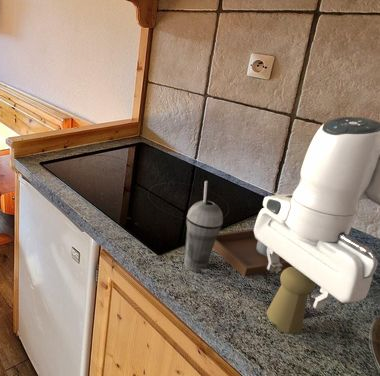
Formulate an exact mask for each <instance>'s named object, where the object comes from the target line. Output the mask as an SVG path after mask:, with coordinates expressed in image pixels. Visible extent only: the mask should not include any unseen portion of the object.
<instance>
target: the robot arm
mask: <svg viewBox="0 0 380 376" xmlns="http://www.w3.org/2000/svg"><path fill="white" fill-rule="evenodd" d="M362 200H369V201H371V202H372V203H374V204H376V205H378V206H380V122H379V121H377V120H374V119H371V118H368V117H360V116H359V117H357V116H341V117H340V116H339V117H334V118H331V119H329V120H327V121H325V122H323V123H322V125H320V127H319V128H318V129H317V131H316V133H315V134H314V136H313V138H312V139H311V141H310V144H309V146H308V148H307V151H306V153H305V155H304V158H303V162H302V164H301V168H300V179H299V184H298V185H297V187H296V188H295V189H294V191H293V192H292V193H285V194H284V193H281V194H274V195H267V196H265V197H264V198H263V201H262V206H263V208H261V209H260V211H258V214H257V216H256V220H255V223H254V227H253V229H254V234H255V238H256V239H258V240H259V241H260V242H262V243H263V244H264V245H266V246H267V256H268V261H269V263H268V267H267V269H268V270H269V271H270V274H273V275H276V274H277V275H278V274H280V273H282V272H281V268H282V266H283V265H282V264H281V263H280V261H279V256H280V257H282V258H283V259H284V260H286V261H287V262H288V263H290V264H291V265H292V266H294V267H295V268H296V269H298V270H299V271H300V272H302V273H303V274H304V275H306V276H307V277H308V278H310V279H311V280H312V281H314V282H315V283H316V285H317V286H318V287H320V289H319V292H320V293H316V294H310V296H309V300H308V304H309V305H311V306H312V307H313V308H314V309H316V310H320V309H323V308H324V307H325V306H326V304H327V301H329V300H331V299H333V298H335V299H336V300H338V302H340V303H342V304H350V303H357V302H361V301H364V300H365V299H366V298H367V296H368V294H369V291H370V288H371V285H372V281H373V276H374V274H375V272H376V270H377V268H378V265H379V262H378V260H377V258H376V256H375V254H374V253H373V249H371V248H370V247H369V246H367V245H365V244H364V243H363V244H362V243H361V242H359V241H357V240H356V239H355V238H354V237H351V235H350V233H351V229H352V226H353V225H354V222H355V220H356V217H357V216H358V212H359V210H360V201H362Z"/></svg>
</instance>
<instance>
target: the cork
mask: <svg viewBox="0 0 380 376" xmlns="http://www.w3.org/2000/svg"><path fill="white" fill-rule="evenodd" d="M279 277H280V284H281V285H280V286H279V288H278V289H277V292H276V294H275V295H274V297H273V299H272V301H271V303H270V305H269V307H268V308H267V309H266V317H267V318H268V320H269V321H270V322H271V323H273V324H272V325H271V327H272V328H273V329H275V330H277V331H279V332H282V333H284V334H290V335H291V334H292V335H294V334H299V333H301V331H302V329H303V327H304V326H303V325H304V320H305V313H306V308H307V302H308V297H309V294H311V293H312V292H313V291H314V290H315V287H316V285H317V284H316V283H315V282H314V281H312V280H311V279H310V278H308V277H307V276H306V275H304V274H303V273H302V272H300V271H299V270H298V269H296V268H295V267H288V268H286V269H285V270H282V272H281V274H280V276H279Z"/></svg>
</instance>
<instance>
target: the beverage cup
mask: <svg viewBox="0 0 380 376" xmlns="http://www.w3.org/2000/svg"><path fill="white" fill-rule="evenodd" d="M207 193H208V180H205V181H204V187H203V200H200V201H197V202H195V203H193V204H192V206H190V208H189V209H188V211H187V214H186V216H185V219H186V234H185V235H186V236H185V237H186V238H185V245H184V246H185V247H184V254H183V255H184V257H183V258H184V260H183V261H184V262H183V265H184V266H185V268H186V269H188V270H190V271H193V272H202V269H205V268H206V267H207V265H208V263H209V260H210V257H211V255H212V251H213V250H214V249H213V246H214V243H215V240H216V237H217V234H218V233H220V231H221V229H222V227H223V226H224V216H223V212H222V210H221V208H220V207H219V205H218V204H217V203H215V202H213V201H210V200H207V195H208V194H207Z"/></svg>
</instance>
